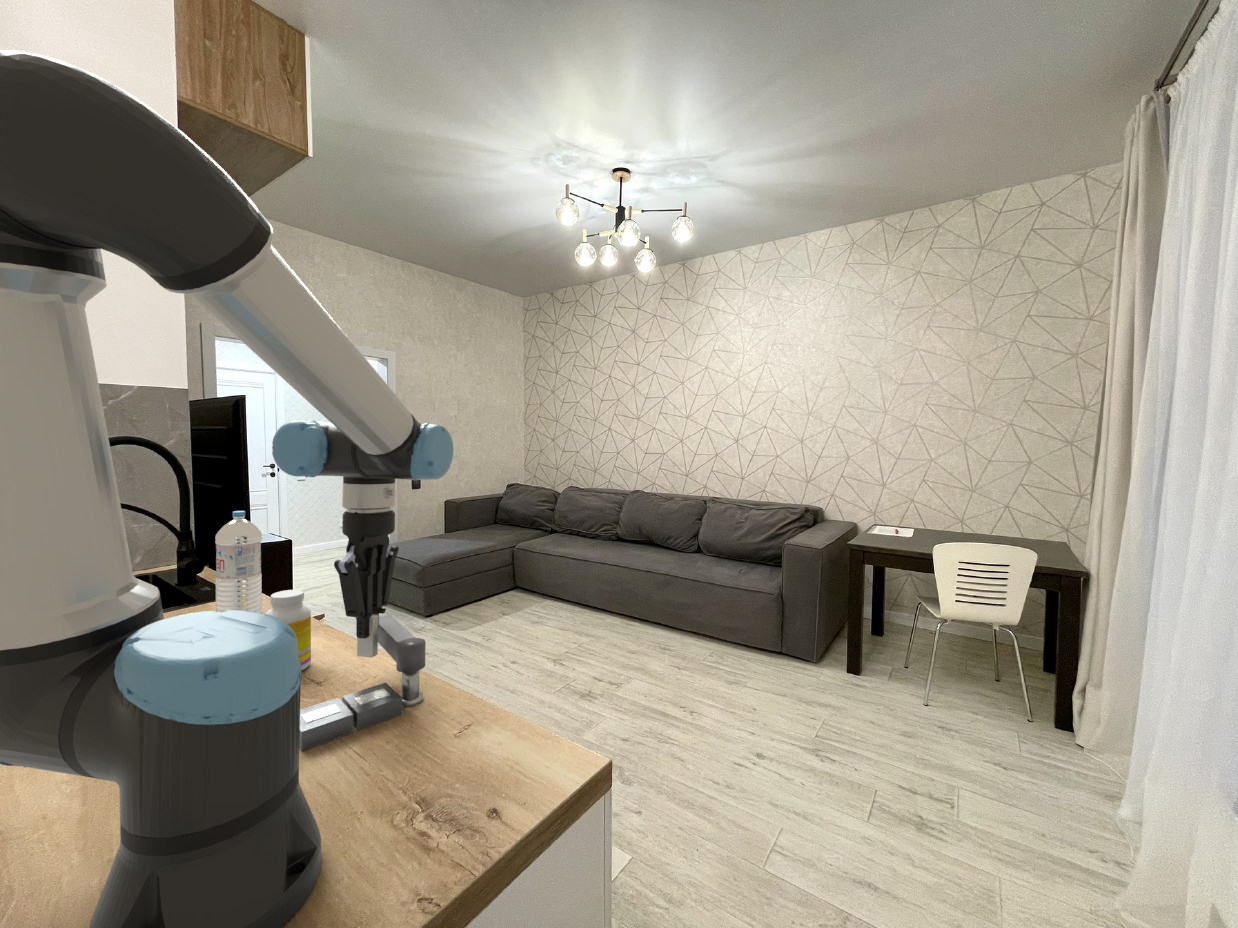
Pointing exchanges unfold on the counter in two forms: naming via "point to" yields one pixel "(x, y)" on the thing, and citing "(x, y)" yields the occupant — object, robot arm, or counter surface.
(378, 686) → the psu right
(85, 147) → the robot arm
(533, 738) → the counter surface
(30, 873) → the counter surface
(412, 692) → the pivot post
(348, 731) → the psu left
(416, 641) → the cable arm
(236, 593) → the water bottle
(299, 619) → the supplement bottle
